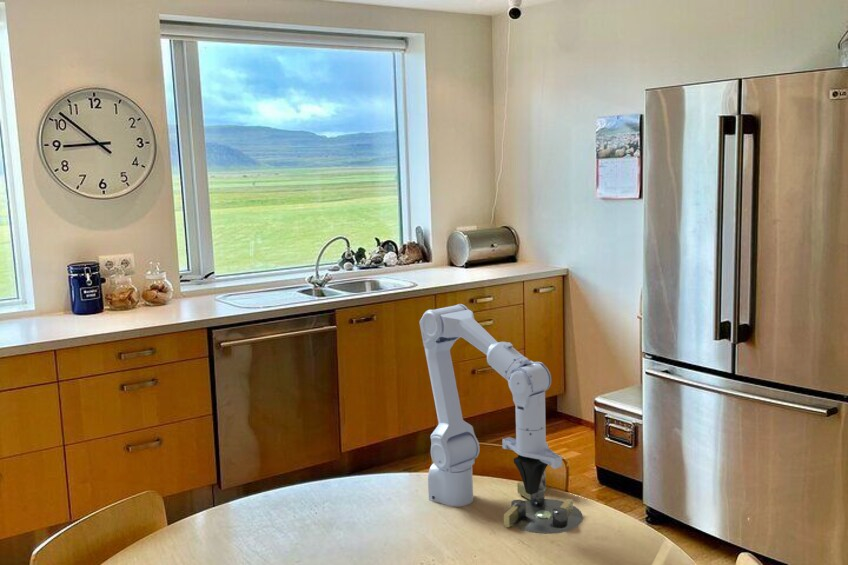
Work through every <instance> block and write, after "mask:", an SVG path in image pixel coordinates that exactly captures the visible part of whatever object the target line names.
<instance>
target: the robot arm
mask: <svg viewBox="0 0 848 565" xmlns="http://www.w3.org/2000/svg"><path fill="white" fill-rule="evenodd" d="M419 328H420V332H421V334H420V335H421V338H422V346H423V347H424V353H425V357H426V364H427V368H428V374H429V378H430V379H429V380H430V384H431V390H432V394H433V400H434V405H435V411H436V415H437V422H438V423H437V424H438V425H437V426H436V427H435V429H433V431H432V433H431V434H430V442H431V445H430V457H431V460H432V462H433V463H432V464H431V465H430V467H429V470H428V474H427V487H428V488H427V489H428V490H427V491H428V492H427V493H428V501H432V502H435V503H440V504H443V505H445V506H449V507H464V506H468V505H470V504H471V503H473V501H474V484H473V482H474V481H473V476H474V475H473V465H475V464H476V462H475V459H477V458H478V456H479V455H480V443H479V440H478V438H477V437H476V433H475V431H474V426H473V425H471V424H470V423H468V422H466V421H465V420H464V419H463V413H462V406H461V403H460V396H459V392H458V388H457V387H458V386H457V381H456V376H455V371H454V370H455V369H454V366H453V365H454V364H453V361H452V360H453V359H452V354H451V349H452V347H453V345H454V344H455V343H456V341H457V340H459V339H460V338H462V339H463V340H465V341H466V342H468V343H469V344H471V345H472V346H473V347H474V348H476V349H477V350H479V351H480V352H482V353H483V354H484V355H485V356H486V362H487V365H488V366H489V367H491V368H492V369H493V370H494V371H496V372H497V373H498V374H499V375H500V376H501V377H502V378H504V379H505V380H506V381H507V384H508V388H509V390H510V392H511V394H512V402H513V403H514V405H515V438H513V437H512V436H511V437H510V436H508V437H505V438H502V440H501V442H502V449H504V450H510V451H512V452H514V453H516V454H517V456H516V457H514V458H513V464H514V465H515V466H516V468H517V470H518V472H519V474H520V477H521V479H522V482H523V484H524V487H525V491H526V493H528V494H530V495H532V494H535V493H537V492H538V489H539V485H540V481H541V478H542V475H543V473H544V471H546V469H547V467H548V466H551V468H552V469H554V470H556V469H559V468H561V467H563V456H561V455H559V454H557V453H556V452H554V451H553V450H552V449H550V448H549V443H548V442H547V435H546V434H547V433H546V432H547V430H546V425H547V424H546V391H547V390H549V389H550V387H551V385H552V375H551V372H550V371H549V369H548V367H547V366H546V365H545V364H544V362H541V361H533V360H530V359H529V358H527V357H526V356H525V355H523V354H522V353H520V352H519V351H518V350H517V349H516V348H514V347H513V346H514V345H513V343H511V342H510V341H509V342H506V341H499V342H498V341H497V339H495V338H494V337H493V335H491V334H490V333H489V332H488V331H487V330H486V329H485V328H484V327H483V326H482V325H481V324H480V323H478V321H476V319H475V315H474V311H473V310H470V309H469V308H468V306H466V305H464V304H462V303H458V304H455V305H451V306H445V307H441V308H435V309H427V310H426V311H425V312H424V313H423V314H422V317H421V318H420V320H419Z"/></svg>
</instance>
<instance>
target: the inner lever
mask: <svg viewBox="0 0 848 565" xmlns="http://www.w3.org/2000/svg"><path fill="white" fill-rule="evenodd" d="M510 506H511V508H510V509H509V510H508V511H507V512H506V511H505V512H506V513H505V512H504V514H503V526H504V527H507V528H511V526H512V524H513V523H514V522H515V521H516V520H517V519H522V518H525V517H526V502H525V500H524V499H523V500H522V499H514V500H511V502H510Z"/></svg>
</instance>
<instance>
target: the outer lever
mask: <svg viewBox="0 0 848 565" xmlns="http://www.w3.org/2000/svg"><path fill="white" fill-rule="evenodd" d="M563 502H564V503H563V504H562V505H561V507H560V508H554V509H553V510H552V518H553V525H554V526H556V527H566V526H567V525H568V516H569V515H570V514H571V512H572V511H573V506H574V500H573V499H570V498H566V500H564V501H563Z"/></svg>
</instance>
